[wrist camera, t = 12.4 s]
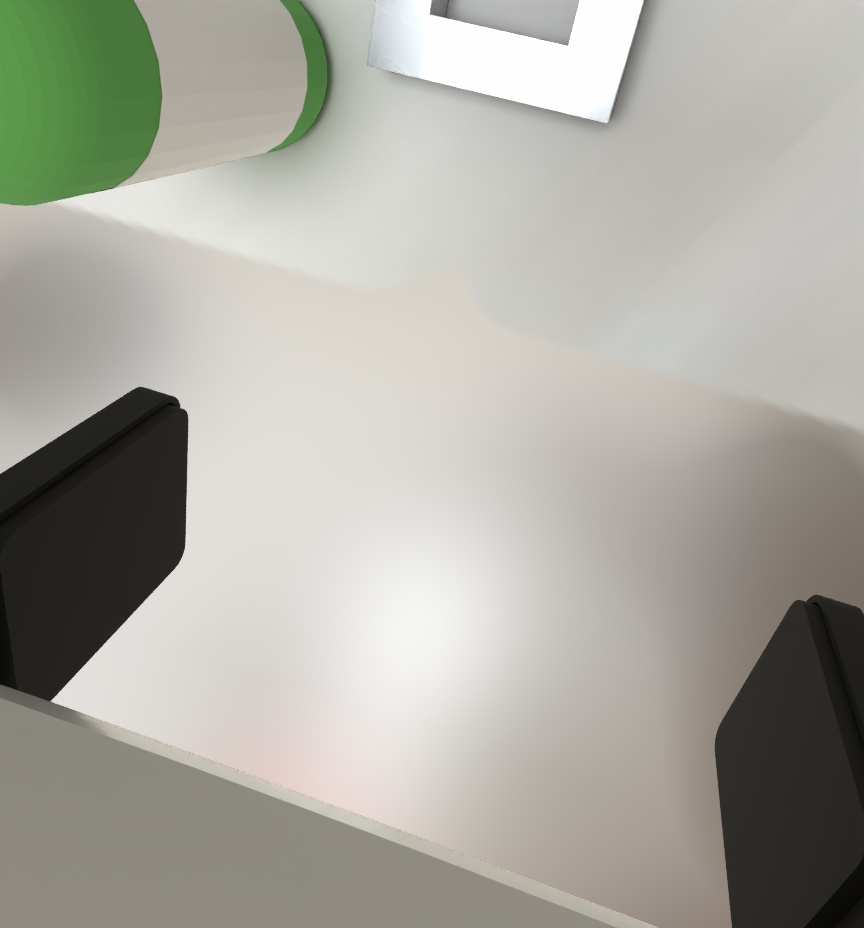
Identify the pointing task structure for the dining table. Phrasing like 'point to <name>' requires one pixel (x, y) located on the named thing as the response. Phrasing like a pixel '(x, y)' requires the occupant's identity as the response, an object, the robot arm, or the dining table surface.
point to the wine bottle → (148, 89)
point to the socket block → (511, 54)
